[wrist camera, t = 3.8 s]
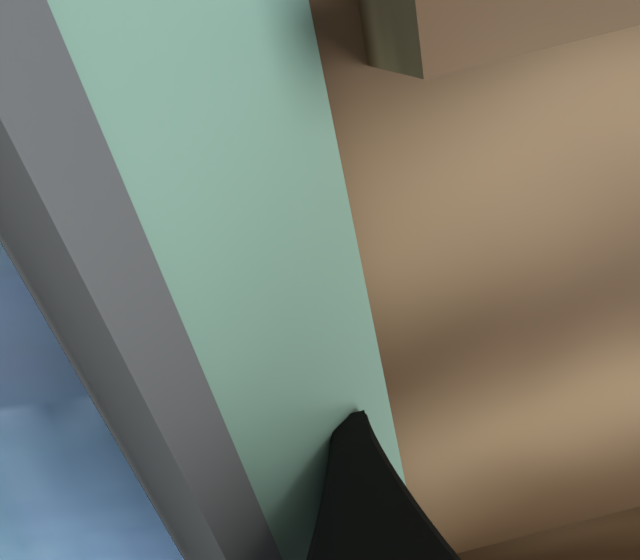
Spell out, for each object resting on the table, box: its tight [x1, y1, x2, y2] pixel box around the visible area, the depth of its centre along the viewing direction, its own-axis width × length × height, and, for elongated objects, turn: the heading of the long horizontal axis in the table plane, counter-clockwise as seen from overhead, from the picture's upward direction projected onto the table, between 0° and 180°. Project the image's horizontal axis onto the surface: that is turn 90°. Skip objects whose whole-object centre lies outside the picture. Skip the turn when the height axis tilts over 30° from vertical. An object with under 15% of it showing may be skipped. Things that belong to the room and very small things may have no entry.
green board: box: [0, 0, 406, 560], centre depth 9 cm, size 17×1×5 cm
